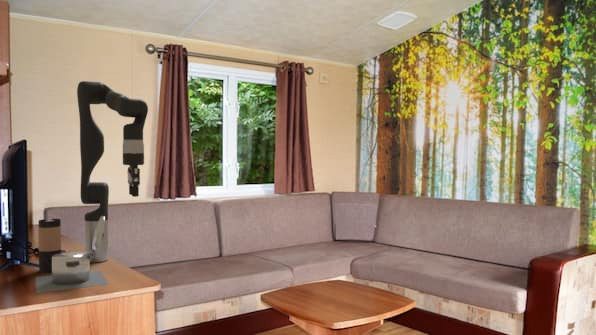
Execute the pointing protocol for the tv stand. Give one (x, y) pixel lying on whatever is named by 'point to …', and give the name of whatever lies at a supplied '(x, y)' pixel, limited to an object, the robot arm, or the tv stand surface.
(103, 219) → the lid
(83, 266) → the pot
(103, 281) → the mat
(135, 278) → the tv stand surface
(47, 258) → the travel mug
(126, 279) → the tv stand surface
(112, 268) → the tv stand surface
